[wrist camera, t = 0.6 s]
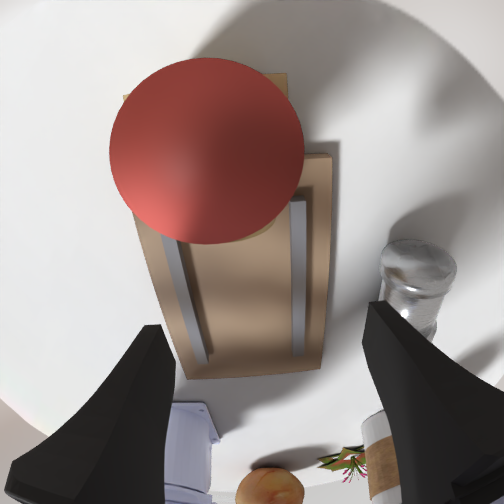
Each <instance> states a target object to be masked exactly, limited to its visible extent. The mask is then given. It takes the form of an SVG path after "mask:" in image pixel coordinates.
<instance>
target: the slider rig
mask: <svg viewBox="0 0 504 504" xmlns="http://www.w3.org/2000/svg"><path fill="white" fill-rule="evenodd" d="M123 99H124V103H123V105H122V107H121V108H120V110H119V112H118V114H117V117H116V119H115V122H114V124H113V128H112V132H111V137H110V146H109V155H110V165H111V171H112V175H113V178H114V181H115V184H116V186H117V189H118V191H119V193H120V195H121V196H122V198H123V200H124V201H125V203H126V204H127V206H128V207H129V208H130V209H131V211H132V213H133V217H134V220H135V224H136V228H137V232H138V235H139V239H140V242H141V246H142V249H143V253H144V256H145V260H146V263H147V266H148V270H149V273H150V276H151V279H152V283H153V286H154V289H155V292H156V295H157V298H158V301H159V304H160V307H161V310H162V313H163V316H164V319H165V322H166V325H167V327H168V330H169V333H170V336H171V339H172V341H173V344H174V347H175V349H176V352H177V355H178V357H179V360H180V363H181V365H182V368H183V370H184V373H185V375H186V378H187V380H189V379H217V378H235V377H249V376H262V375H272V374H282V373H292V372H300V371H308V370H316V369H320V367H321V359H322V349H323V340H324V329H325V318H326V306H327V293H328V279H329V263H330V243H331V216H332V157H331V156H330V155H329V154H328V153H319V154H304V139H303V133H302V129H301V125H300V122H299V120H298V117H297V115H296V112H295V110H294V109H293V107H292V105H291V103H290V102H289V100H288V88H287V74H286V73H276V74H261V73H259V72H258V71H256V70H254V69H252V68H250V67H248V66H246V65H243V64H240V63H237V62H234V61H230V60H225V59H219V58H196V59H189V60H184V61H180V62H177V63H174V64H171V65H169V66H166V67H164V68H162V69H160V70H158V71H156V72H155V73H153V74H151V75H150V76H149V77H147V78H146V79H145V80H143V81H142V82H141V83H140V84H139V85H138V86H137V87H136V88H135V89H134V90H133V91H132V92H131V93H130V94H127V95H123Z"/></svg>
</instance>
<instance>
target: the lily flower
mask: <svg viewBox="0 0 504 504" xmlns="http://www.w3.org/2000/svg"><path fill="white" fill-rule="evenodd" d="M362 448H364V447H361V448H358V449H356V450H354V451H351V450H348V449H345V448H343V450H342V451H341V454H340V455H337V456H339V457H338V460H335V459H333V458H332V457H327V458H320V459H319V460H320V461H321V462H323V463H331V464H329V465H327V466H322V467H317V468H325V469H331V470H333V471H336V470H341V469H344V468H349V469H351V470H352V471H353V472H354V476H355V470H356V469H354V467H355V468H357V470H358V472H359V473H360V474H361V475H362V476H363V475H367V474H364V473H362V471H361V470H360V468H359V467H358V465H360V466H361V467H364V466H365V465H363V464H366V459H365V450H364V452H362V453H361V452H355V451H357V450H360V449H362ZM350 454H360V455H359V456H358V457H357V458H355V456H353V457H351V460H343V459H344V458H346V457H347V456H348V455H350ZM333 457H336V456H333ZM352 458H353V459H352ZM339 459H340V460H339ZM333 462H334V463H333ZM362 465H363V466H362ZM365 467H366V468H367V466H365ZM349 469H347V470H345V472H344V473H343V475H344V474H345V473H347V471H348V470H349ZM363 469H364V468H363ZM357 470H356V471H357ZM364 470H365V469H364ZM333 471H332V472H333ZM352 471H350V472H351V473H352ZM365 471H367V470H365ZM350 472H349V474H348V475H349V476H350V475H351V473H350ZM356 474H358V473H356ZM349 476H348V477H349ZM352 476H353V473H352ZM348 477H346V478H344V479H345V480H344V481H343V482H345V481H346V480H347V478H348ZM363 477H365V476H363ZM351 478H352V477H351ZM350 481H351V480H350ZM349 483H350V482H349Z"/></svg>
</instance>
